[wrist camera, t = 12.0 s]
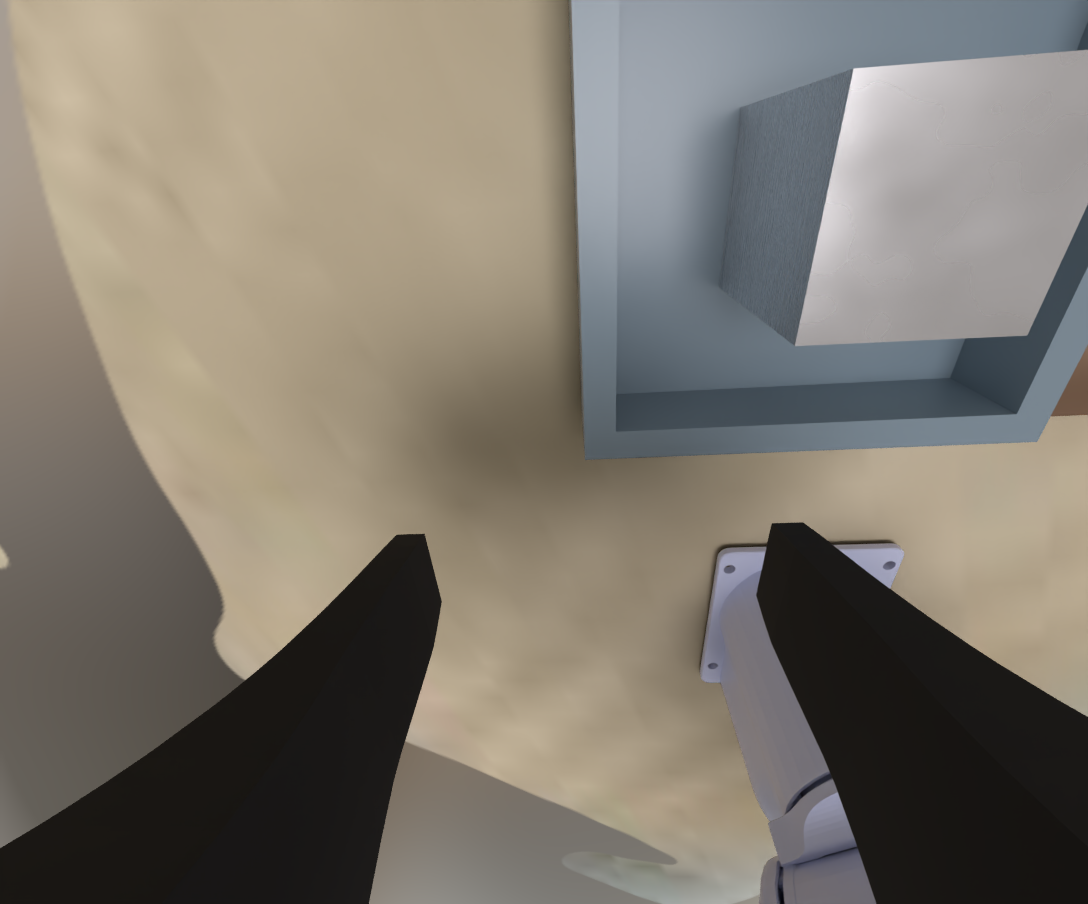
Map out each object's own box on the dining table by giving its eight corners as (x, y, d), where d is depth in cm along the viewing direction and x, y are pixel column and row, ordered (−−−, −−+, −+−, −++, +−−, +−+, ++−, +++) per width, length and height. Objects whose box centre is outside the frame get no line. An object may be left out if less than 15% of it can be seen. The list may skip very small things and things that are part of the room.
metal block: (922, 93, 13) (1161, 44, 8) (871, 279, 15) (1027, 335, 10) (740, 107, 13) (853, 68, 8) (718, 287, 16) (795, 346, 10)
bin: (957, 395, 18) (1036, 441, 15) (581, 413, 19) (585, 459, 16) (1187, -177, 11) (1428, -310, 8) (564, -103, 12) (565, -197, 9)
